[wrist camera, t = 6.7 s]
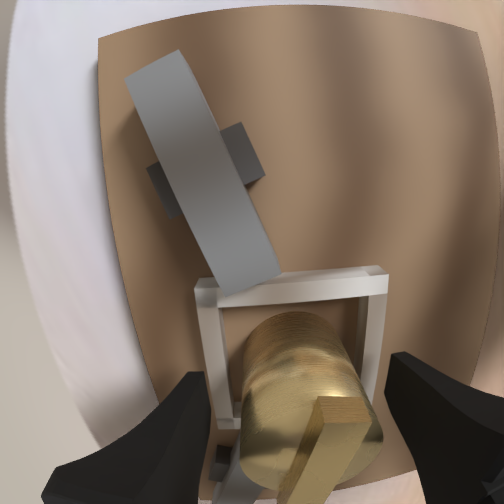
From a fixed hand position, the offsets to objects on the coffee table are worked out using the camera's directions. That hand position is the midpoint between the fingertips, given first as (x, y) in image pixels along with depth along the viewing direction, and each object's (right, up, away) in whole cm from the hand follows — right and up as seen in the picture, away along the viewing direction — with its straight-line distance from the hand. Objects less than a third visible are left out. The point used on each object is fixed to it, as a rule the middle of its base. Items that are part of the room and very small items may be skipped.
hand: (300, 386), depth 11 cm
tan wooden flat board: (+2, +2, +3) cm, 4 cm away
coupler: (0, 0, +3) cm, 3 cm away
